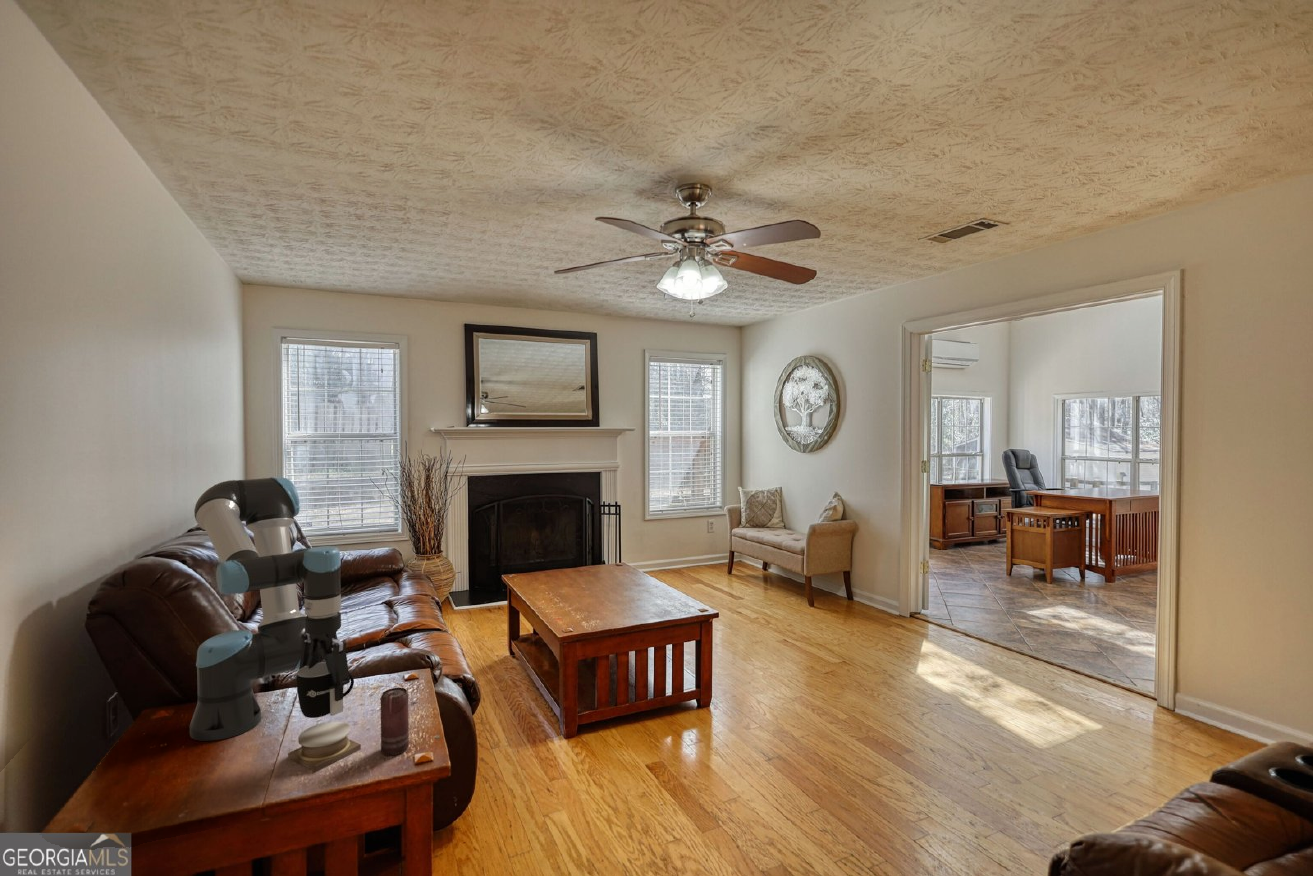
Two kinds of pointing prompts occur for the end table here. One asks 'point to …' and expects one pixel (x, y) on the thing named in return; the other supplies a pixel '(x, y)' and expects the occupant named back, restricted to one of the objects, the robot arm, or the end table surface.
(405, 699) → the can
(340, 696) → the robot arm
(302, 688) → the mug
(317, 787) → the end table surface
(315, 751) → the stand
